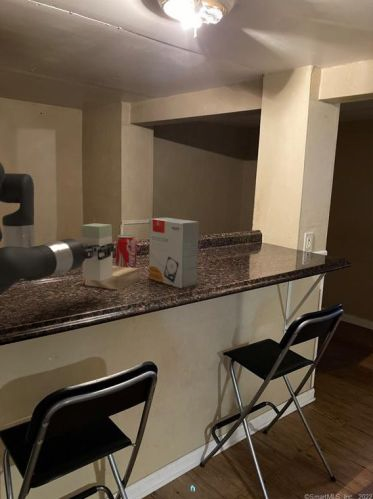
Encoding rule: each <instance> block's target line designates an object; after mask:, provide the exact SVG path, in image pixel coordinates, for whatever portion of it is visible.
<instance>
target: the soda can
mask: <svg viewBox="0 0 373 499" xmlns="http://www.w3.org/2000/svg"><path fill="white" fill-rule="evenodd" d="M137 243H138V242H137V239H136V235H133V234H118V235H117V237H116V240H115V266H120V267H129V268H137V264H138V263H137V256H138V249H137V248H138V246H137V245H138V244H137ZM137 269H138V268H137Z"/></svg>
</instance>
